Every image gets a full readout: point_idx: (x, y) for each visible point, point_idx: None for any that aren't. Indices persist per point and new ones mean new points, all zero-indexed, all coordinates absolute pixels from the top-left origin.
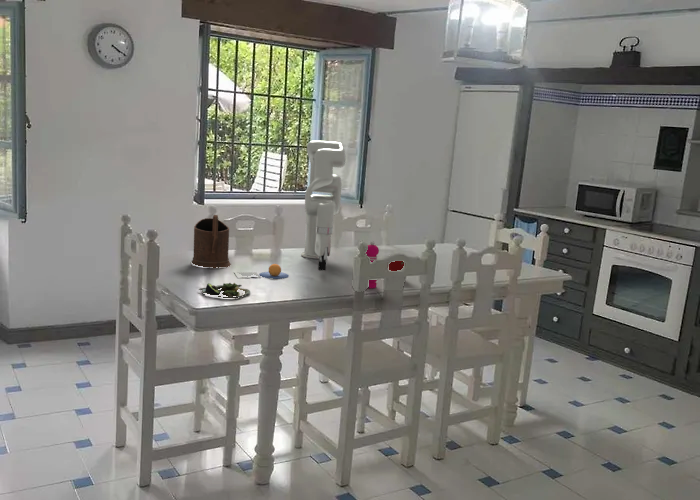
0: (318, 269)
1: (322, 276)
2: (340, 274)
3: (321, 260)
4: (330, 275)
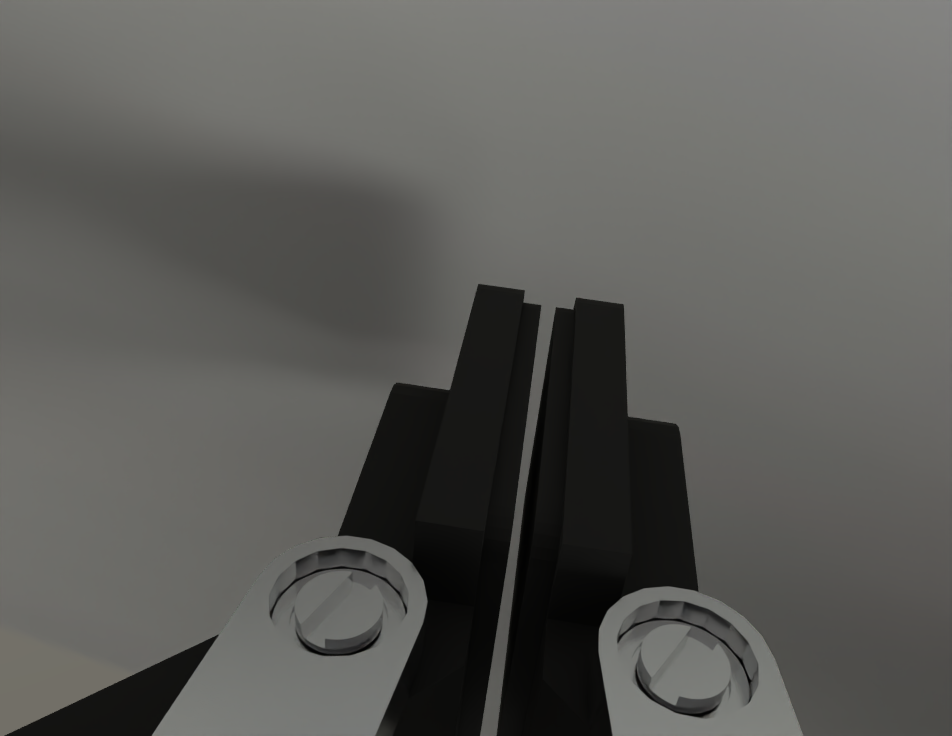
0: (577, 298)
1: (314, 245)
2: (494, 706)
3: (228, 650)
4: None
